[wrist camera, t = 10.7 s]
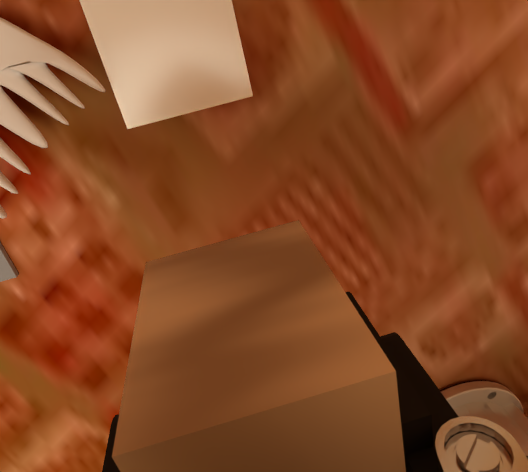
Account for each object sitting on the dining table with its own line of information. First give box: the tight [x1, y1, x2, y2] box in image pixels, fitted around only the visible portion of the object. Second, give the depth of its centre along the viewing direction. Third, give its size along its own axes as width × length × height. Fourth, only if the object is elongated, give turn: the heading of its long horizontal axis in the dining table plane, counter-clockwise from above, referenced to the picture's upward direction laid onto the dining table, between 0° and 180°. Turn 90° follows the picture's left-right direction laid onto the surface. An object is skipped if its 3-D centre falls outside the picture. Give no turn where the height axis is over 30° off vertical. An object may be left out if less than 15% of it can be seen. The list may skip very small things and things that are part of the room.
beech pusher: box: [112, 220, 406, 472], centre depth 9 cm, size 4×5×6 cm
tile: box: [79, 0, 253, 129], centre depth 22 cm, size 7×2×7 cm
